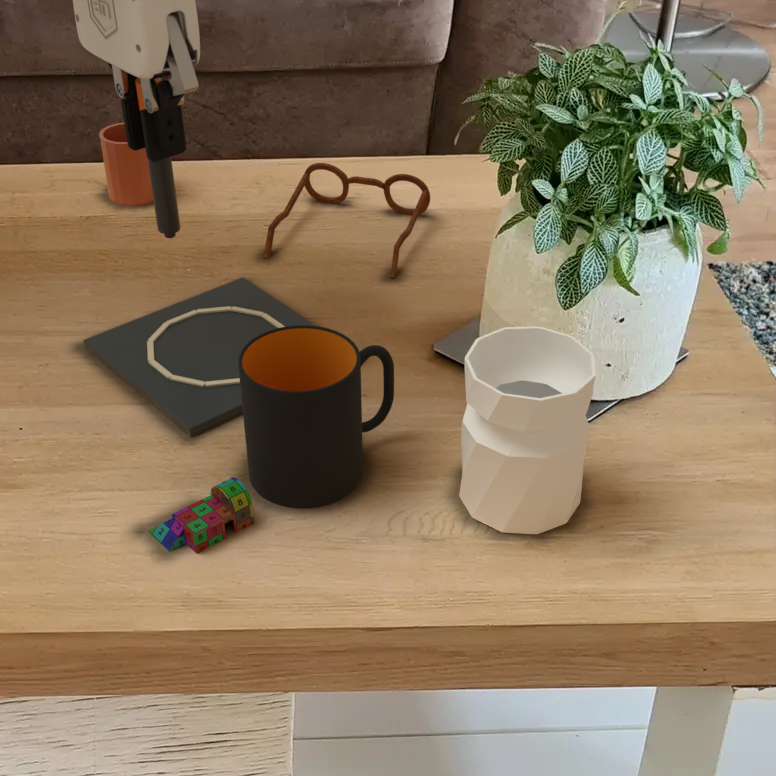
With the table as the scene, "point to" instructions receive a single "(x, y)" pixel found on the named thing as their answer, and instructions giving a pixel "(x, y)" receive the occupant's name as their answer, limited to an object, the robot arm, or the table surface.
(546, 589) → the table surface
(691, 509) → the table surface
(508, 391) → the vase
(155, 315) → the board
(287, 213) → the glasses
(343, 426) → the mug
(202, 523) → the toy block structure
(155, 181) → the marker
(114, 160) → the pen cup
